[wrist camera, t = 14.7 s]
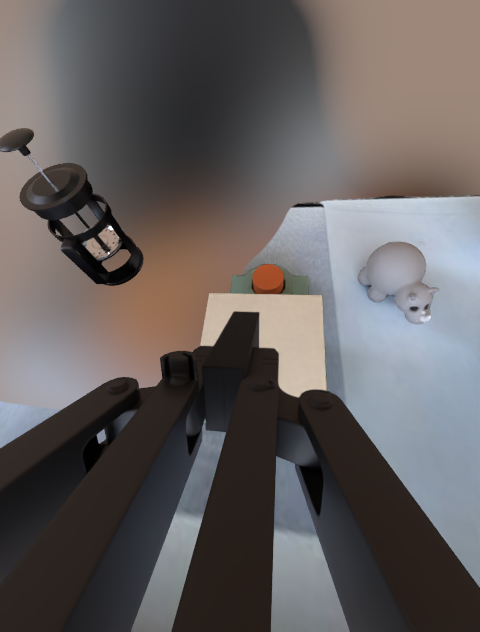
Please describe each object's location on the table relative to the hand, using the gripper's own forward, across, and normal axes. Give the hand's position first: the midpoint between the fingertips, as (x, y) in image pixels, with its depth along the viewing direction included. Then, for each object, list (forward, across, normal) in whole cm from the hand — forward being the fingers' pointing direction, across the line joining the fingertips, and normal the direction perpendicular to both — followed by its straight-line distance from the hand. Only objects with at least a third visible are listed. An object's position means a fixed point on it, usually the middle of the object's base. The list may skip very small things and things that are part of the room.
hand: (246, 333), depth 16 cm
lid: (+11, 0, -7) cm, 12 cm away
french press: (+32, -28, -1) cm, 42 cm away
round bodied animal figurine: (+28, +18, -5) cm, 33 cm away
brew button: (+25, 0, -2) cm, 25 cm away
